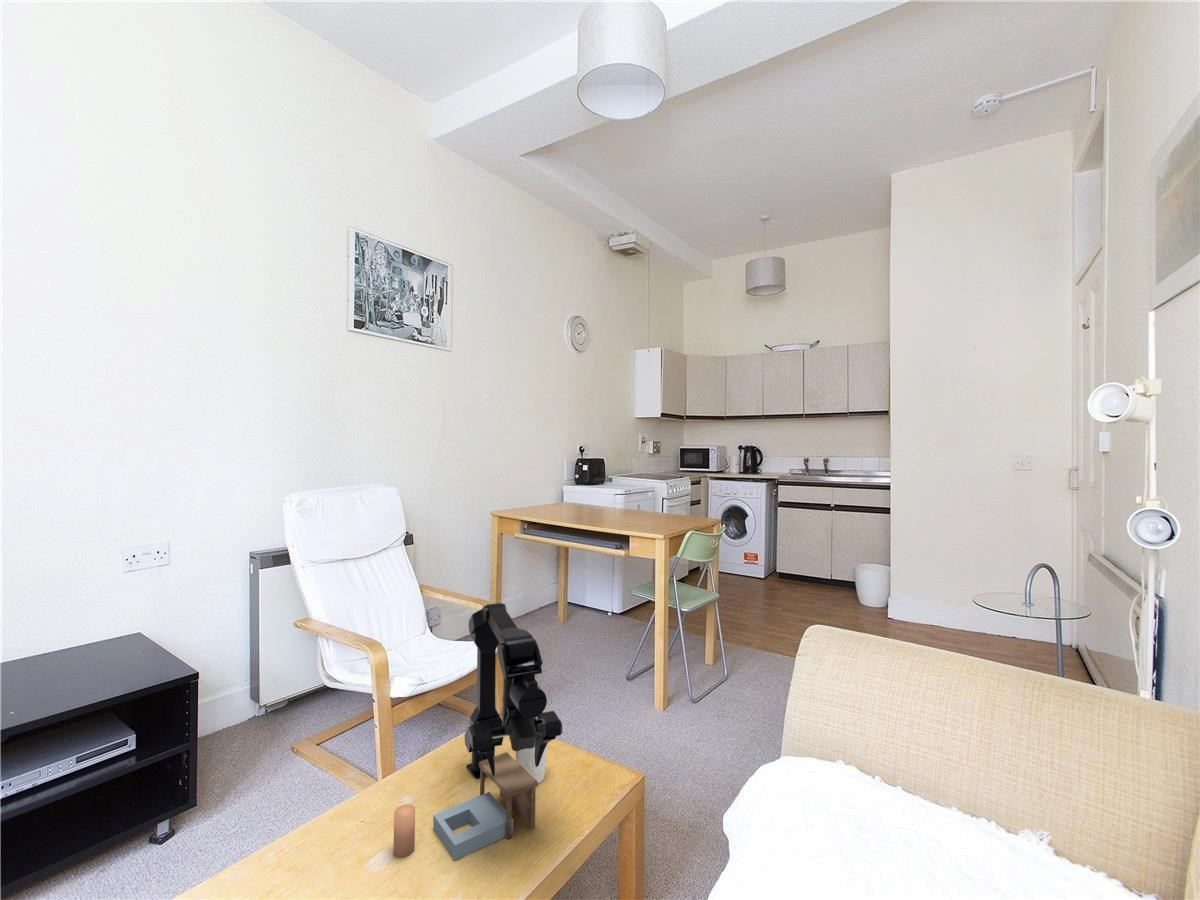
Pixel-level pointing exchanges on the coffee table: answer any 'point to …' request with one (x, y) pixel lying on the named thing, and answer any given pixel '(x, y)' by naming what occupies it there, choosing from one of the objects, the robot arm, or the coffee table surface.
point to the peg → (404, 831)
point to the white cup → (532, 762)
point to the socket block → (484, 822)
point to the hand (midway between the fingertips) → (515, 770)
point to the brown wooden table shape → (512, 788)
